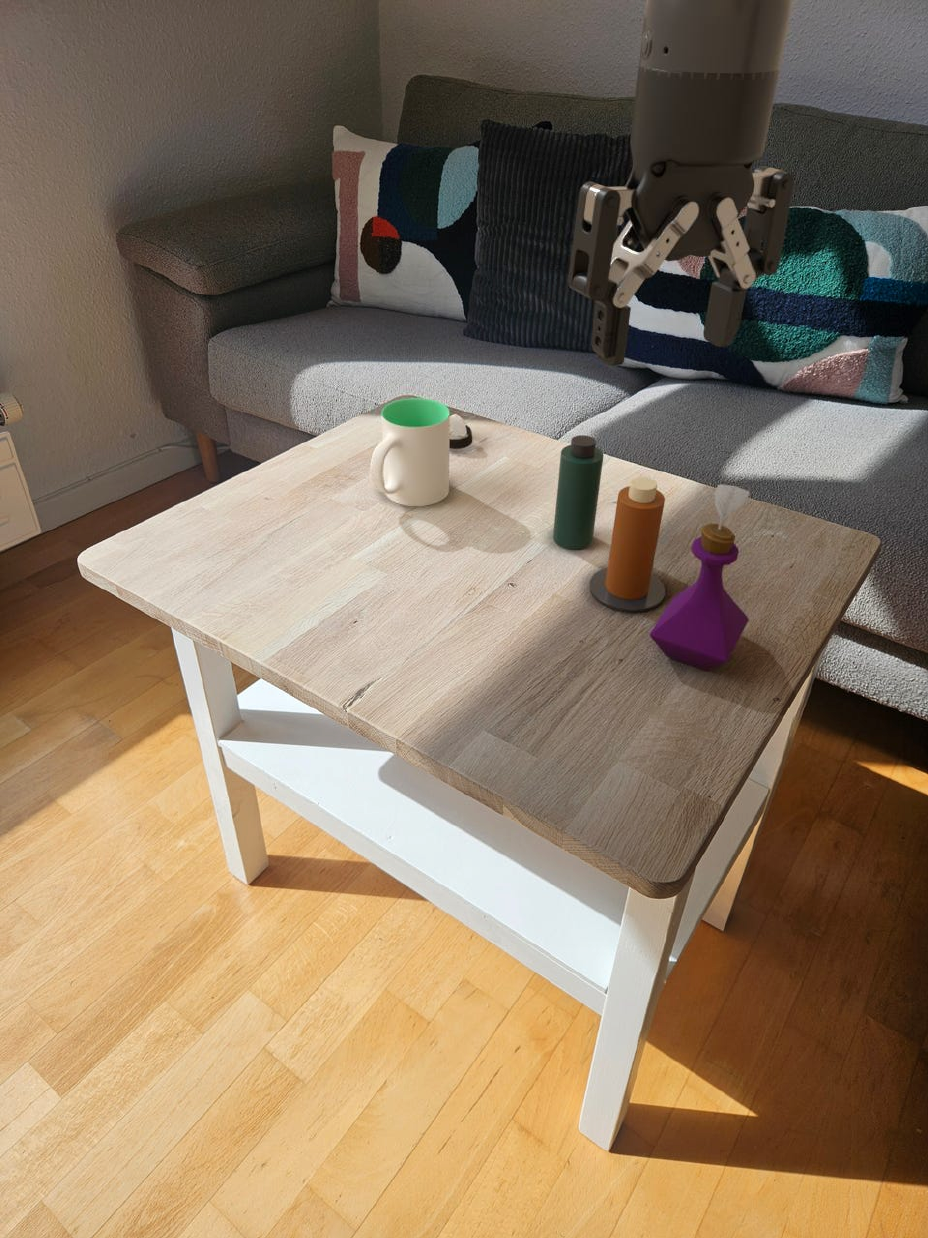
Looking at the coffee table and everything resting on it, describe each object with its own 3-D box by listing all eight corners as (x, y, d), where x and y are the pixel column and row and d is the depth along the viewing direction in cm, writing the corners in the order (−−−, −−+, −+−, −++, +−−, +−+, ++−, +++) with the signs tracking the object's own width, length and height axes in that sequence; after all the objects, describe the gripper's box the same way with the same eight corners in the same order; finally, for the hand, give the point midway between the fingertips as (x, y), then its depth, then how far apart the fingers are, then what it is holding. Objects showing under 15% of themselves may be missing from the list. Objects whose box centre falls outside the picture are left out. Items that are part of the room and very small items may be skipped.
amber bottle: (642, 573, 95) (660, 471, 87) (653, 598, 91) (672, 494, 83) (601, 574, 94) (615, 472, 87) (609, 600, 91) (625, 495, 83)
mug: (408, 527, 102) (405, 446, 96) (352, 508, 105) (347, 429, 99) (461, 484, 110) (462, 408, 104) (408, 468, 113) (406, 392, 107)
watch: (480, 445, 119) (481, 420, 117) (455, 455, 116) (456, 430, 114) (443, 426, 123) (443, 402, 121) (418, 436, 121) (417, 411, 119)
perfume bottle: (719, 688, 81) (764, 522, 70) (643, 661, 84) (675, 498, 73) (742, 644, 86) (787, 483, 75) (670, 620, 89) (702, 462, 78)
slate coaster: (654, 567, 96) (654, 564, 96) (673, 611, 90) (673, 608, 90) (583, 569, 96) (583, 566, 96) (597, 613, 90) (597, 610, 89)
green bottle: (588, 528, 103) (600, 430, 95) (596, 549, 99) (609, 450, 91) (549, 528, 102) (559, 431, 95) (556, 550, 99) (565, 450, 91)
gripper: (639, 70, 42) (603, 390, 52) (859, 61, 47) (788, 355, 57) (560, 56, 47) (541, 349, 57) (765, 49, 52) (715, 319, 62)
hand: (664, 351), depth 57 cm, fingers open, 8 cm apart
